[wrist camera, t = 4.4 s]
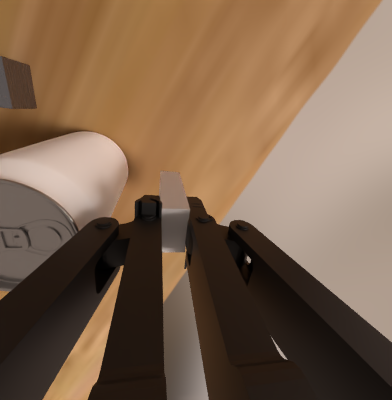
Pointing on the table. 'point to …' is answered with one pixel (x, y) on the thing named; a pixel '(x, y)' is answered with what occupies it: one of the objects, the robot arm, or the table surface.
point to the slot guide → (16, 85)
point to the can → (54, 197)
